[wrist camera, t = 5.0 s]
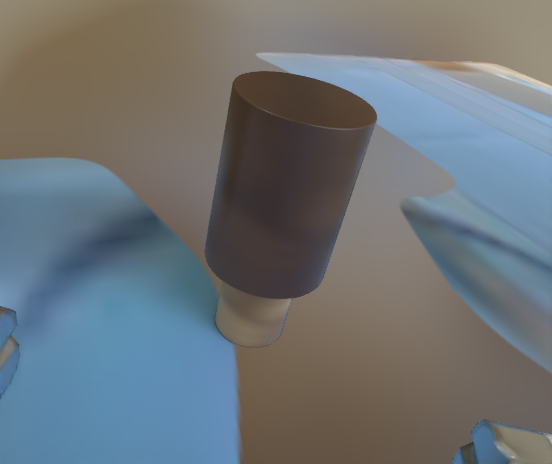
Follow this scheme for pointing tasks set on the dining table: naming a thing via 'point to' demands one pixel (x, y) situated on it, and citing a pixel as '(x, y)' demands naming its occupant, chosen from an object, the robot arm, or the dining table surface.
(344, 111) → the stopper
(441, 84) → the dining table surface
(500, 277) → the dining table surface
